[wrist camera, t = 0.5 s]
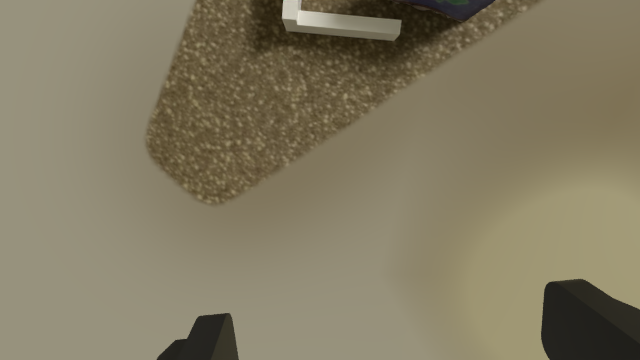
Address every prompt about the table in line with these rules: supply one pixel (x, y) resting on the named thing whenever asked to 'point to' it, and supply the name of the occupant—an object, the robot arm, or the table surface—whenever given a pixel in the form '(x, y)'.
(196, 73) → the table surface
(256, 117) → the table surface
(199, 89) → the table surface
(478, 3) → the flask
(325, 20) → the rack
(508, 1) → the table surface
